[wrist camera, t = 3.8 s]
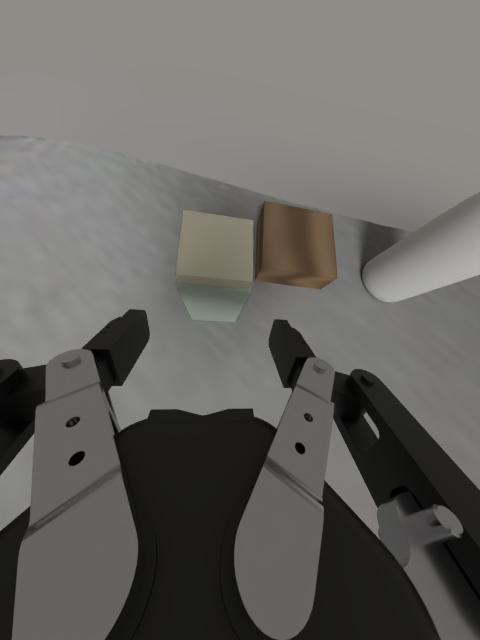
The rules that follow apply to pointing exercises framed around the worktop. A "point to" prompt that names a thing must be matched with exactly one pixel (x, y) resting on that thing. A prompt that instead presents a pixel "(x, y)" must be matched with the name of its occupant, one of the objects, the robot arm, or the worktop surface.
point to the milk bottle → (429, 256)
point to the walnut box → (295, 247)
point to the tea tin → (214, 265)
